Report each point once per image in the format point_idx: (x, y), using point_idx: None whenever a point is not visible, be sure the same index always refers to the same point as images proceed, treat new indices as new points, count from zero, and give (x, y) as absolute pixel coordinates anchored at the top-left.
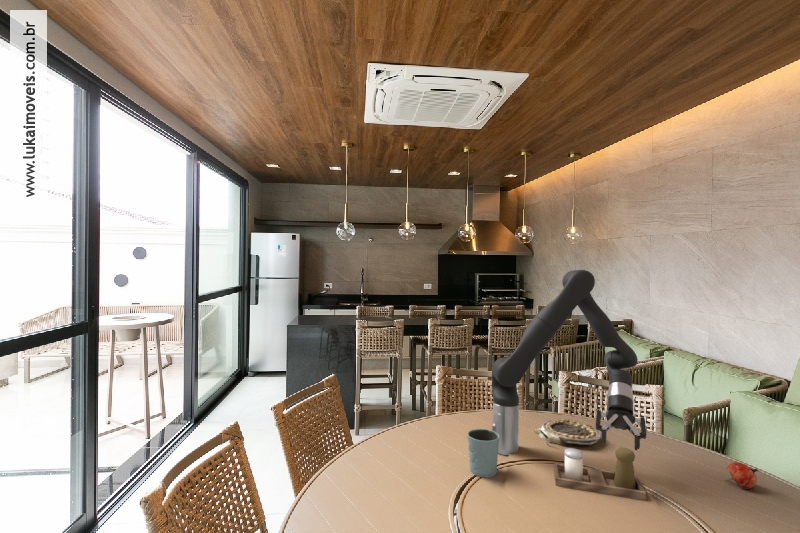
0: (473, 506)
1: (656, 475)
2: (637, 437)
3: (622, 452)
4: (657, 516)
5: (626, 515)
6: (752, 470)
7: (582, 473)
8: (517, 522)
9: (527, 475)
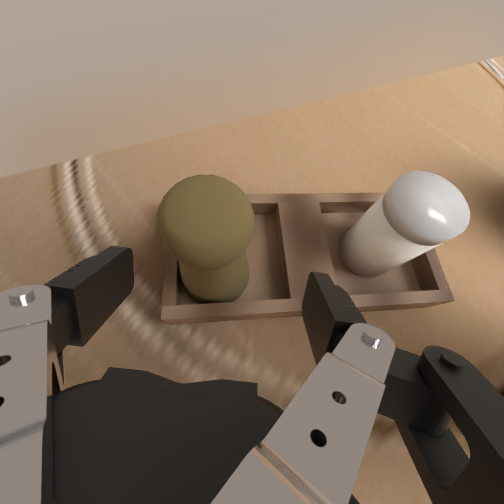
0: (498, 103)
1: None
2: (52, 295)
3: (225, 179)
4: (165, 168)
5: (235, 152)
6: None
7: (352, 231)
8: (417, 85)
9: (480, 252)
